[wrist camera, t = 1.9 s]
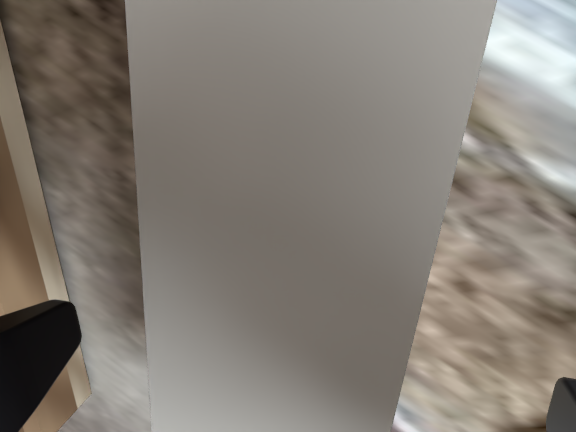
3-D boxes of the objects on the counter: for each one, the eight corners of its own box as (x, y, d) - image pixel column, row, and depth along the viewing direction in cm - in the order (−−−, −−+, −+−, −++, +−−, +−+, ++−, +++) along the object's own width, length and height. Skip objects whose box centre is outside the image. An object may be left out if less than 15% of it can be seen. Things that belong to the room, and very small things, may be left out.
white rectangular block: (361, 436, 14) (331, 670, 9) (249, 404, 15) (161, 601, 10) (462, -41, 9) (538, -172, 4) (278, -50, 10) (114, -168, 4)
